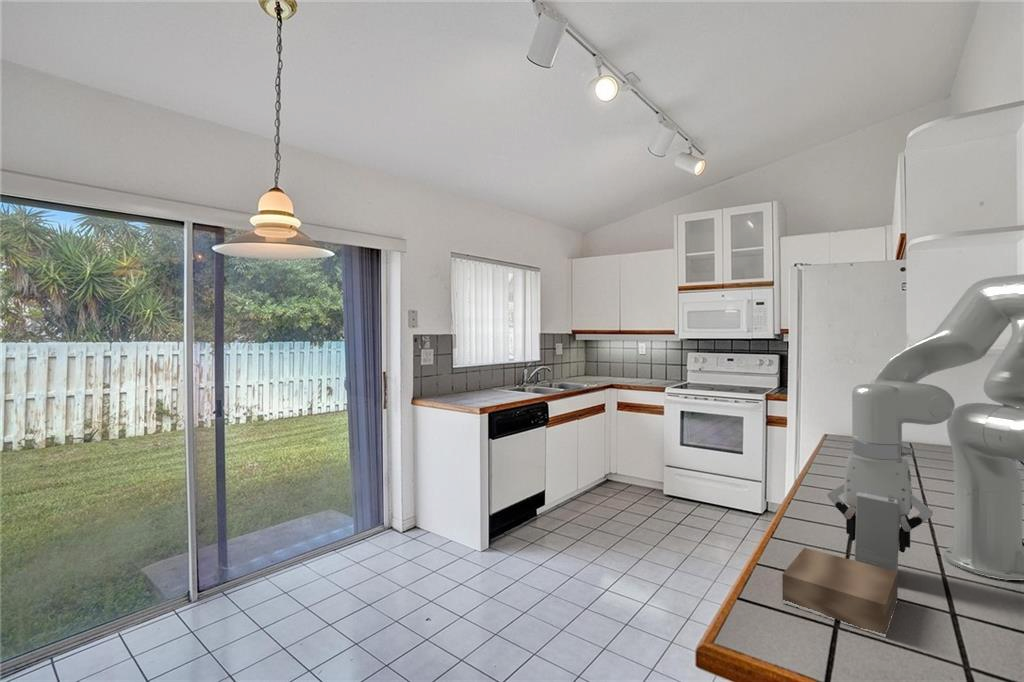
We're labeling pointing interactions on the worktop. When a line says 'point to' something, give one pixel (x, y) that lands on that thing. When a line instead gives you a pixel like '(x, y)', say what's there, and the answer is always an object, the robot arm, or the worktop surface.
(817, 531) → the worktop surface
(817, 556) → the walnut box
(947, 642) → the worktop surface
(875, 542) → the skincare box
